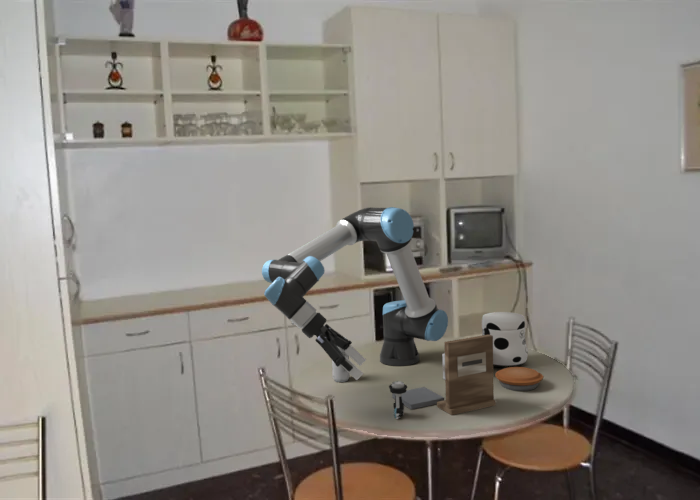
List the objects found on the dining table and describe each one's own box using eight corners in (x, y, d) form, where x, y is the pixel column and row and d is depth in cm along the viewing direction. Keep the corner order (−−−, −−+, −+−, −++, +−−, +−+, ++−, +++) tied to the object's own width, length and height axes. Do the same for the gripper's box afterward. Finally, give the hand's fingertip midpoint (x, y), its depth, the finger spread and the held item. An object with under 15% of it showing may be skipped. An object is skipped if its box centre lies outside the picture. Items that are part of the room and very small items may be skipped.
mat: (392, 397, 202) (392, 393, 202) (424, 391, 207) (424, 386, 207) (411, 409, 191) (410, 404, 191) (444, 402, 196) (444, 397, 196)
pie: (515, 396, 199) (515, 381, 198) (485, 382, 213) (485, 368, 213) (553, 388, 205) (553, 373, 205) (522, 375, 219) (522, 361, 219)
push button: (405, 421, 182) (404, 387, 181) (387, 420, 183) (386, 387, 182) (409, 412, 188) (408, 380, 187) (391, 411, 190) (390, 379, 189)
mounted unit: (434, 405, 194) (432, 337, 192) (477, 395, 200) (475, 330, 198) (451, 415, 185) (450, 344, 183) (495, 405, 192) (494, 336, 189)
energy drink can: (339, 376, 226) (337, 335, 224) (353, 378, 222) (351, 337, 221) (329, 381, 221) (327, 339, 219) (343, 383, 218) (341, 341, 216)
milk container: (537, 364, 231) (537, 316, 229) (505, 373, 222) (505, 323, 220) (502, 354, 245) (501, 309, 243) (470, 363, 236) (469, 316, 234)
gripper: (306, 319, 198) (356, 365, 198) (293, 340, 173) (349, 392, 173) (322, 303, 197) (372, 349, 197) (311, 321, 172) (367, 373, 172)
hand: (361, 369), depth 185 cm, fingers open, 13 cm apart
